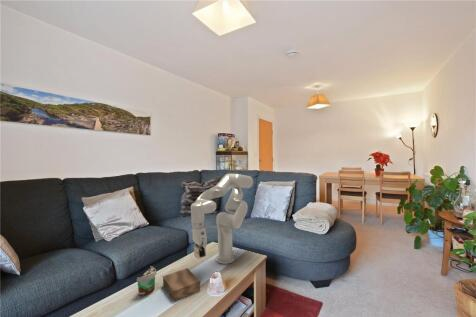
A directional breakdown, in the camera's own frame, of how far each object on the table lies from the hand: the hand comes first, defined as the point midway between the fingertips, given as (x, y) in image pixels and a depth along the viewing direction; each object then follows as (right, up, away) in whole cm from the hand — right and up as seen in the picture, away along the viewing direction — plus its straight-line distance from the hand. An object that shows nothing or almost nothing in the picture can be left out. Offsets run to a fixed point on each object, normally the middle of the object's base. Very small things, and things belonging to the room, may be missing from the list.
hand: (200, 254), depth 133 cm
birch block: (0, -1, 0) cm, 1 cm away
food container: (-24, -13, -14) cm, 31 cm away
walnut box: (-8, -13, -12) cm, 19 cm away
